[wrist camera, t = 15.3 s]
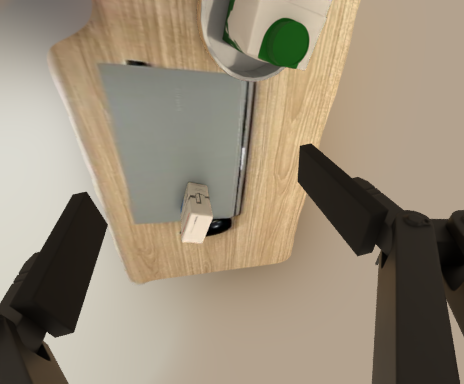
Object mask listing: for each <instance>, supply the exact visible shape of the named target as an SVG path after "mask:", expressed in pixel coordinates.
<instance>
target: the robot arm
mask: <svg viewBox="0 0 464 384" xmlns="http://www.w3.org/2000/svg"><path fill="white" fill-rule="evenodd" d="M298 182H299V184H300V185H301V186H302V187H303V189H304V190H305V191H306V192H307V194H308V195H309V196H310V197H311V199H312V200H313V201H314V202H315V203H316V205H317V206H318V207H319V209H320V210H321V211H322V212H323V214H324V215H325V216H326V217H327V219H328V220H329V221H330V222H331V224H332V225H333V226H334V227H335V229H336V230H337V231H338V232H339V234H340V235H341V236H342V237H343V239H344V240H345V241H346V242H347V243H348V245H349V246H350V247H351V248H352V250H353V251H354V252H355V254H356V255H357V256H360V255H364V254H368V253H372V251H373V249H374V247H375V244H376V245H377V246H378V247H379V248H380V249H381V252H380V254H379V256H378V259H377V261H376V265H378V264H379V269H378V287H377V304H376V306H377V307H376V321H375V338H374V357H373V374H372V384H460V380H459V374H458V368H457V362H456V356H455V350H454V344H453V338H452V332H451V326H450V320H449V314H448V308H447V302H448V304H449V306H450V308H451V310H452V312H453V314H454V317H455V319H456V321H457V323H458V325H459V327H460V329H461V332H462V334H463V336H464V210H458V211H455V212H453V213H452V215H451V216H450V218H449V219H429V218H428V217H427V216H425V215H423V214H421V213H419V212H416V211H410V210H403V209H402V208H400V207H399V206H398V205H396V204H395V203H394V202H393V201H392V200H390V199H389V198H388V197H387V196H385V195H384V194H383V193H381V192H380V191H379V190H378V189H377V188H375V187H374V186H373V185H372V184H370V183H369V182H368V181H366V180H363V179H361V178H359V177H356V178H351V177H350V176H349V175H347V174H346V173H345V172H344V171H343V170H342V169H340V168H339V167H338V166H337V165H335V163H333V162H332V161H331V160H330V159H329V158H328V157H326V156H325V155H324V154H323V153H322V152H321V151H319V150H318V149H317V148H316V147H315V146H314V145H312V144H307V145H302V146H300V152H299V168H298ZM107 226H108V224H107V223H106V221H105V220H104V218H103V217H102V215H101V214H100V212H99V210H98V209H97V207H96V206H95V204H94V202H93V201H92V199H91V198H90V196H89V195H88V193H87V192H82V193H78V194H73V195H72V197H71V199H70V201H69V202H68V204H67V206H66V208H65V209H64V211H63V213H62V215H61V216H60V218H59V220H58V221H57V223H56V225H55V227H54V228H53V230H52V232H51V234H50V235H49V237H48V239H47V241H46V242H45V244H44V246H43V247H42V249H41V251H40V252H37V253H34V254H33V255H32V256H31V257H30V258H29V259H28V260H27V261H26V262H25V264H24V265H23V267H22V269H21V270H20V272H19V275H17V277H16V278H15V280H14V284H12V285H11V286H10V288H9V290H8V291H7V293H6V295H5V296H4V298H3V300H2V301H1V303H0V384H68V382H67V380H66V378H65V376H64V374H63V372H62V371H61V369H60V367H59V365H58V363H57V361H56V359H55V358H54V356H53V354H52V352H51V350H50V348H49V346H48V345H47V344H46V343H45V342H44V341H43V339H44V337H45V334H46V332H48V333H49V334H51V335H52V336H54V337H55V338H56V337H59V336H63V335H67V334H70V333H73V332H74V330H75V328H76V324H77V321H78V318H79V315H80V311H81V308H82V305H83V302H84V299H85V296H86V292H87V289H88V286H89V283H90V280H91V276H92V274H93V270H94V267H95V264H96V261H97V258H98V255H99V251H100V248H101V245H102V242H103V239H104V235H105V232H106V229H107ZM446 299H447V302H446Z"/></svg>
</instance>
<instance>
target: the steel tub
mask: <svg viewBox="0 0 464 384" xmlns="http://www.w3.org/2000/svg"><path fill="white" fill-rule="evenodd" d="M229 2H230V0H198V2H197V25H198V31H199V35H200V38H201V41H202V43H203V45H204V48H205V50H206V51H207V53H208V54H209V56H210V57H211V58H212V60H213V61H214V62H215V63H216V64H217V65H218V66H219V67H220V68H222V69H223V70H224V71H225V72H226V73H227V74H229V75H230V76H233V77H235V78H237V79H239V80H243V81H250V82H255V81H261V80H266V79H268V78H271V77H273V76H275V75H277V74H278V73H280V72H281V71H282V70H283V69H284V68H286V67H280V66H275V65H272V64H270V63H267V62H263V61H260V60H257V59H254V58H252V57H250V56H248V55H246V54H244V53H241V52H240V51H238V50H236V49H235V48H233V47H232V46H231V45H229V44H228V43H227V42H225V41H224V40H222V38H223V33H224V28H225V22H226V17H227V12H228V7H229Z"/></svg>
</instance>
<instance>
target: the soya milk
mask: <svg viewBox="0 0 464 384" xmlns="http://www.w3.org/2000/svg"><path fill="white" fill-rule="evenodd" d="M331 2H332V0H230V2H229V7H228V12H227V17H226V22H225V28H224V33H223V38H222V40H224V41H225V42H227V43H228V44H229V45H231V46H232V47H233V48H235V49H236V50H238V51H240V52H241V53H244V54H246V55H248V56H250V57H252V58H254V59H257V60H260V61H263V62H267V63H270V64H272V65H275V66H280V67H288V68H293V69H300V70H306V67H307V65H308V63H309V60H310V58H311V55H312V53H313V50H314V48H315V45H316V43H317V40H318V38H319V35H320V32H321V30H322V29H323V26H324V24H325V21H326V18H327V17H326V15H327V12H328V10H329V7H330V5H331Z"/></svg>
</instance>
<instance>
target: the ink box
mask: <svg viewBox="0 0 464 384" xmlns="http://www.w3.org/2000/svg"><path fill="white" fill-rule="evenodd" d="M212 218H213V214H212V209H211V204H210V200H209V194H208V189H207V186H206V185H201V184H196V183H191V182H189V183H188V185H187V188H186V192H185V195H184V199H183V203H182V206H181V241H182V242H186V243H200V244H202V242H203V240H204V238H205V235H206V233H207V231H208V228H209V226H210V223H211V221H212Z"/></svg>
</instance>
